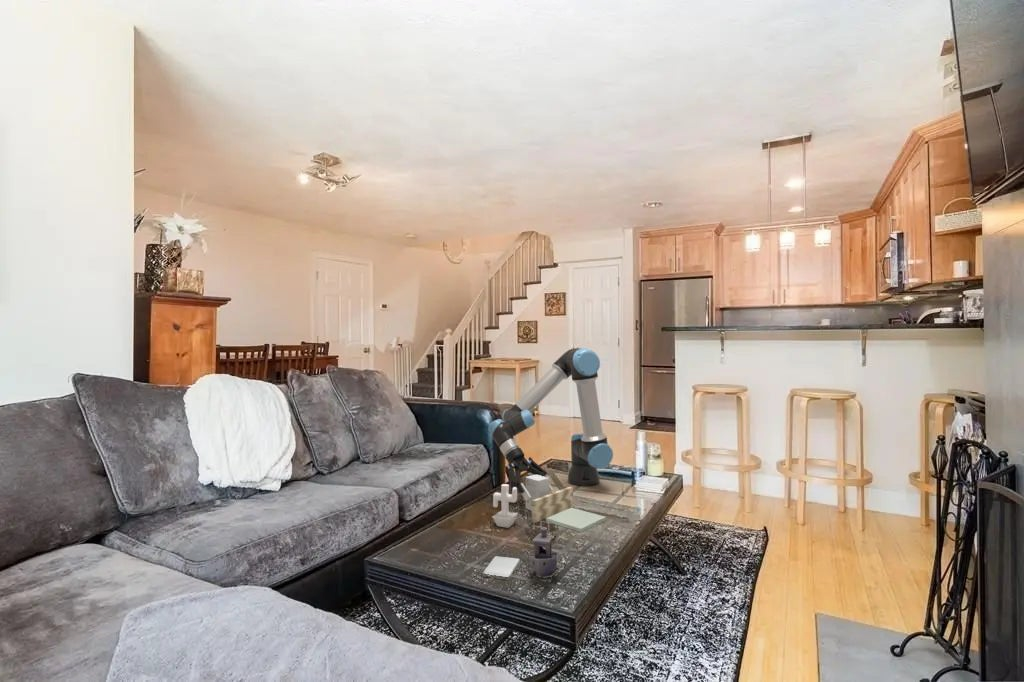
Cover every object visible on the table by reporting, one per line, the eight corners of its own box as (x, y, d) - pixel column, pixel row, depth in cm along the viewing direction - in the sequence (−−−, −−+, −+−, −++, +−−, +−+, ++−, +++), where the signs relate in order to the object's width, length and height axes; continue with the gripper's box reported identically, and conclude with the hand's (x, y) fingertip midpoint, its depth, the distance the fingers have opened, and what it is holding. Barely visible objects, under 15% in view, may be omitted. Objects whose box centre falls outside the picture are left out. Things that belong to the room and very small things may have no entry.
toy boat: (537, 562, 156) (536, 519, 156) (562, 565, 154) (562, 521, 154) (524, 585, 142) (523, 538, 142) (552, 589, 139) (552, 541, 139)
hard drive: (494, 555, 159) (481, 573, 147) (520, 558, 157) (508, 576, 145) (494, 561, 159) (481, 578, 147) (520, 564, 157) (508, 582, 145)
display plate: (571, 510, 203) (571, 507, 203) (605, 520, 192) (605, 516, 192) (546, 521, 191) (546, 518, 191) (581, 532, 180) (581, 528, 180)
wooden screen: (569, 506, 208) (569, 486, 208) (572, 506, 207) (572, 487, 207) (531, 521, 191) (531, 500, 191) (534, 522, 190) (534, 501, 190)
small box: (550, 510, 203) (549, 478, 203) (538, 513, 199) (538, 480, 199) (536, 505, 210) (536, 473, 210) (525, 508, 206) (524, 476, 206)
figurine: (497, 519, 193) (497, 480, 193) (520, 523, 189) (520, 483, 189) (489, 526, 186) (489, 485, 186) (512, 530, 183) (512, 488, 183)
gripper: (527, 452, 224) (554, 493, 214) (486, 462, 206) (513, 507, 196) (536, 442, 221) (564, 483, 211) (495, 451, 203) (524, 497, 192)
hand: (539, 495), depth 203 cm, fingers open, 13 cm apart
